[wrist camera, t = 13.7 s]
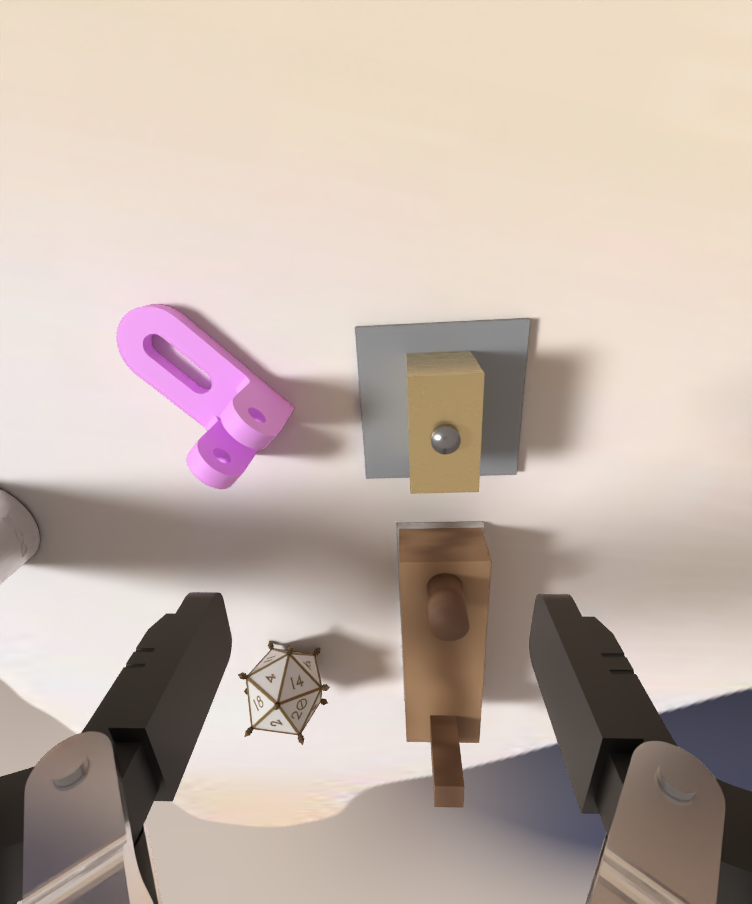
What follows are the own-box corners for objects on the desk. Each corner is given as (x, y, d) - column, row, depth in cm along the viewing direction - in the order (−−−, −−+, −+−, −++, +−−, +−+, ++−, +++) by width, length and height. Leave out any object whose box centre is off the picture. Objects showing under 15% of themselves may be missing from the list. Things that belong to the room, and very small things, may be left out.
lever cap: (409, 454, 35) (410, 498, 29) (406, 353, 32) (407, 379, 26) (466, 452, 35) (480, 496, 29) (470, 350, 31) (486, 376, 25)
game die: (294, 613, 49) (279, 631, 39) (350, 671, 48) (348, 703, 38) (233, 677, 47) (201, 712, 38) (289, 738, 46) (271, 790, 37)
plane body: (404, 696, 48) (405, 814, 38) (396, 523, 39) (395, 620, 29) (473, 696, 48) (492, 816, 38) (483, 521, 38) (511, 620, 28)
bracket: (295, 407, 35) (272, 444, 28) (253, 453, 37) (223, 497, 30) (151, 286, 31) (89, 298, 25) (114, 344, 33) (47, 368, 27)
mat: (366, 475, 37) (366, 478, 36) (355, 326, 32) (354, 328, 31) (514, 471, 36) (516, 474, 35) (527, 318, 31) (530, 319, 30)
